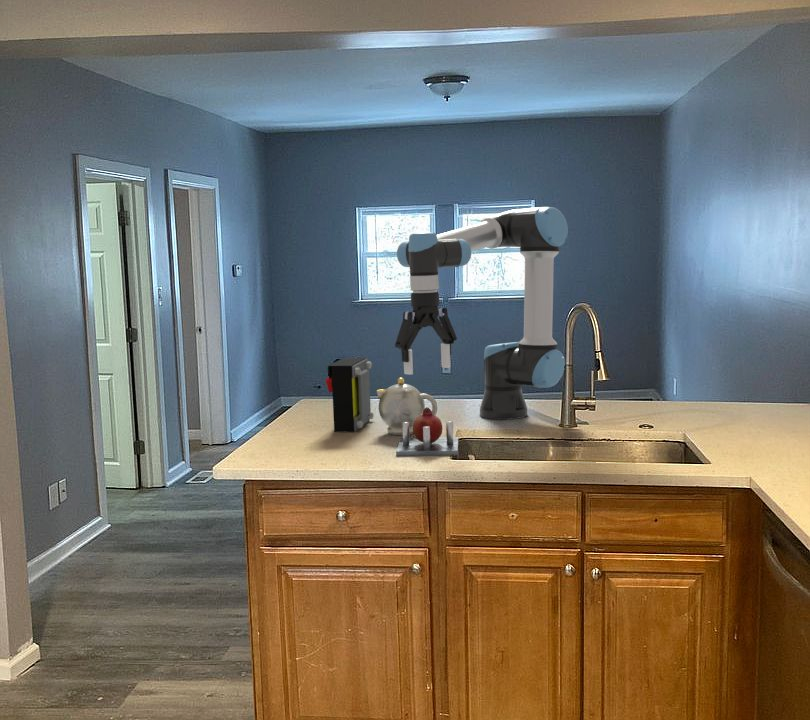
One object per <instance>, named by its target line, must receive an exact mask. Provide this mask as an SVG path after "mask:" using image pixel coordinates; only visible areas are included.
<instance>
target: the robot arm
mask: <svg viewBox="0 0 810 720" xmlns="http://www.w3.org/2000/svg"><path fill="white" fill-rule="evenodd" d="M568 229H569V227H568V221H567V219H566V217H565V216H564V214H563V213H562V211H560V210H559V209H558V208H556V207H552V206H539V207H538V206H537V207H528V208H514V209H511V210H510V209H509V210H506V211H503V212H500V213H498V214H495V215H491V216H488V217H485V218H483V219H481V220H480V222H479V223H475V224H472V225H468V226H464V227H461V228H458V229H457V228H456V229H453V230H449V231H447V232H443V233H439V234H437V233H436V232H413V233H411V234H410V235H409V237H408V240H406V241H403V242H401V243H400V244H399V245H398V247H397V250H396V258H397V261H398V262H399V265H401V266H402V267H404V268H409V279H410V280H409V283H410V284H409V285H410V291H411V294H410V305H411V307H412V311H403V314H402V322H401V324H400V325H401V326H400V328H399V331H398V335H397V338H396V341H395V344H394V347H395V348H396V349H398V350H400V352H401V361H402V362H403V372H404V373H403V374H404V375H410V376H411V375H414V367H413V365H414V364H413V363H414V362H413V359H414V358H413V349H410V348H411V346H412V345H413V343H414V341H415V340H416V337H417V336H418V334H419V332H420V331H421V330H422V329H423V328H427V327H431V328H433V330H434V332H435V334H436V335H437V336H438V337H439V339H440V340H441V342H442V343H440V357H441V359H440V360H441V368H442V369H443V368H444V369H445V368H446V369H451V355H452V345H453V344H454V343H455V341H456V340H457V339H458V337H457V335H456V333H455V329H454V327H453V326H452V322H451V321H450V318H449V316H448V315H449V313H448V308H447V307H439V305H440V292H439V289H440V284H439V269H441V268H460V267H463V266H466V265H467V264H469V262H470V261H471V258H472V252H474V251H479V250H481V249H484V248H487V249H490V250H491V249H496V248H504V247H505V248H510V247H511V248H519V254H521V255H522V256H523V258H524V290H523V291H524V293H523V294H524V296H523V298H524V300H523V301H524V302H523V303H524V304H523V337H522V339H520V340H519V341H514V342H513V341H512V342H503V343H497V344H496V343H495V344H489V345H487V346H485V348H484V353H483V354H484V355H483V369H484V370H483V372H484V374H483V375H484V394H483V398H482V400H481V404H480V406H479V416H480V417H482V418H486V419H491V420H513V419H520V418H525V417H527V416H528V406H527V402H526V400H525V398H524V394H523V390H522V389H523V388H522V386H527V387H535V388H538V389H540V388H546V389H547V388H552V387H554V386H556V384H558V383H559V381H560V380H561V379H562V377H563V375H564V371H565V368H564V366H565V365H566V361H565V357H564V353H562V351H560V350H558V342H557V341H556V340H555V339H554V338H553V317H554V316H553V315H554V314H553V312H554V310H553V309H554V308H553V307H554V271H555V269H554V265H555V264H554V262H555V260H554V259H555V257H557V256H558V254H559V253H560V247H561V246H562V245H564V244H565V243H566V240H567V238H568V233H569V230H568ZM565 367H566V366H565Z"/></svg>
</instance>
